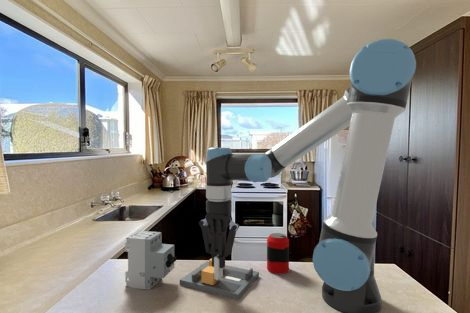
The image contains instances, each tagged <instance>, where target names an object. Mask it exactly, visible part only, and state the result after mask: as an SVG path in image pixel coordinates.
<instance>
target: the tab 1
mask: <svg viewBox="0 0 470 313" xmlns="http://www.w3.org/2000/svg"><path fill="white" fill-rule="evenodd" d="M219 280H220V279H219ZM217 281H218V280H216V279H214V267H211V266H208V267H206V268H205V269H203V270H202V271H201V282H202V283H206V284H210V285H214V284H215V283H216V282H217Z"/></svg>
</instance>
